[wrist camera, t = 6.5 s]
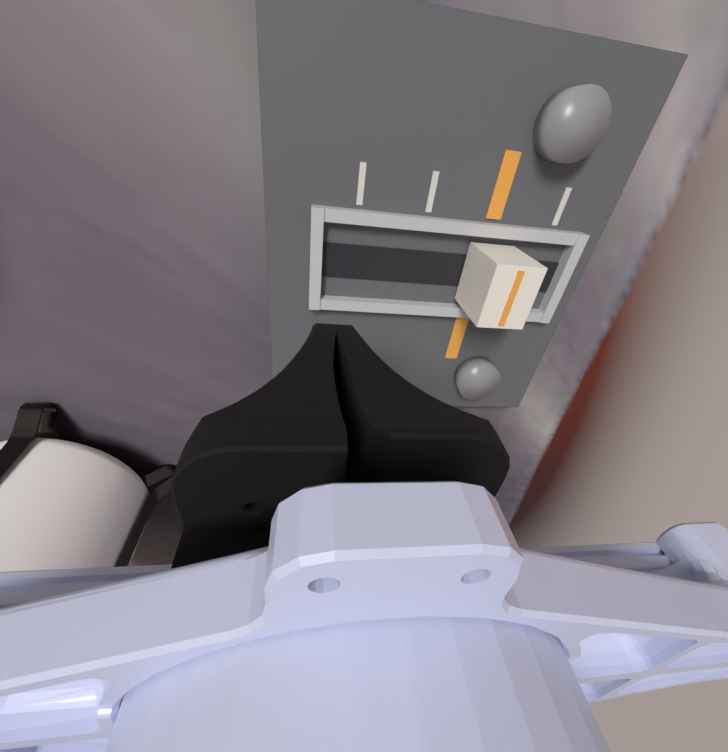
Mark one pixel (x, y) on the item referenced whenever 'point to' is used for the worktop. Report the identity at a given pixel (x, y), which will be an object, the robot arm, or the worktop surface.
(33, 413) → the coffee press
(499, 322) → the fader tab
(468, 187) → the console panel
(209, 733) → the robot arm
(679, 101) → the worktop surface
